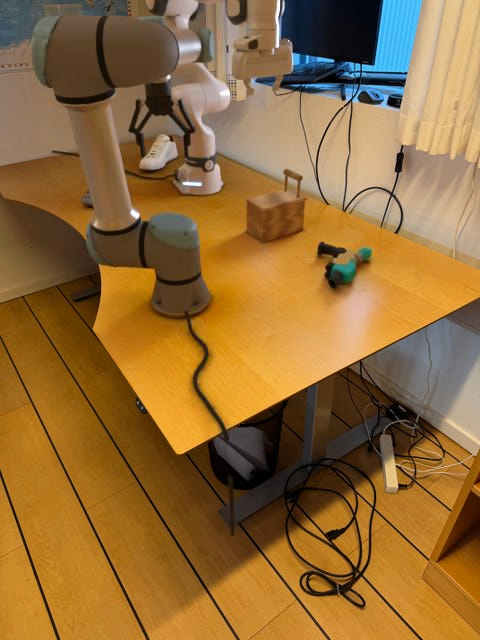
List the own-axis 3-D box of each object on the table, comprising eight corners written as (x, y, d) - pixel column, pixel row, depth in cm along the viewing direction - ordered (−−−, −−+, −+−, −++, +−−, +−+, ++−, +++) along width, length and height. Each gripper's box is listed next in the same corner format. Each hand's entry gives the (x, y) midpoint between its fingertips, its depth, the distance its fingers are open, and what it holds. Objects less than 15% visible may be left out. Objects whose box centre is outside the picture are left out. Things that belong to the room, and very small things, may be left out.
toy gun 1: (138, 196, 186) (123, 211, 174) (94, 193, 189) (76, 208, 177) (137, 186, 184) (121, 201, 172) (92, 183, 187) (74, 198, 175)
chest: (285, 220, 167) (287, 191, 161) (303, 229, 160) (305, 200, 154) (246, 231, 160) (246, 201, 154) (262, 242, 153) (263, 211, 147)
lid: (288, 190, 161) (290, 166, 156) (307, 199, 154) (308, 174, 150) (246, 201, 154) (246, 176, 149) (263, 211, 147) (263, 185, 142)
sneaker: (133, 173, 208) (129, 144, 201) (161, 153, 230) (158, 127, 223) (155, 175, 205) (151, 146, 198) (180, 155, 227) (178, 129, 220)
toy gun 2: (295, 270, 129) (349, 283, 123) (327, 233, 148) (374, 243, 142) (294, 284, 132) (346, 297, 126) (325, 246, 150) (372, 256, 145)
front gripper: (202, 78, 137) (206, 152, 150) (118, 78, 139) (128, 152, 151) (199, 82, 131) (203, 160, 144) (110, 82, 133) (122, 159, 145)
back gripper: (285, 37, 143) (283, 87, 151) (228, 42, 134) (229, 95, 142) (298, 38, 139) (296, 90, 147) (240, 44, 130) (241, 99, 138)
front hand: (165, 156), depth 148 cm, fingers open, 13 cm apart
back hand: (263, 93), depth 144 cm, fingers open, 8 cm apart
